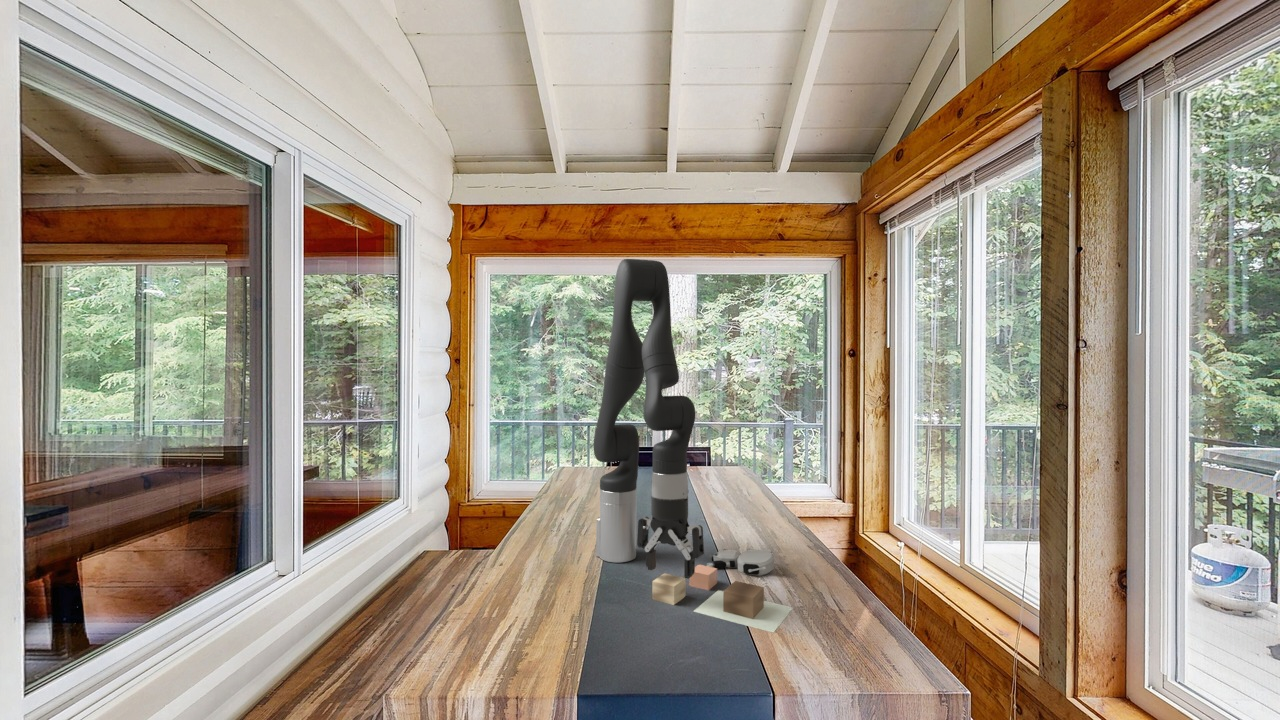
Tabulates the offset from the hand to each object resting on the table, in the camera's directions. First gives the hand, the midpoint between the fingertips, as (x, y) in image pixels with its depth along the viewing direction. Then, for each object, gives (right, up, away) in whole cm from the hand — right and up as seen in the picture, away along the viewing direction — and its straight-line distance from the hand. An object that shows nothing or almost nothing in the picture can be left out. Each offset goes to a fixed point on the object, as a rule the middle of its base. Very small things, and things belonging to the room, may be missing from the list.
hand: (669, 573), depth 118 cm
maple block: (0, -7, +1) cm, 7 cm away
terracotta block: (+8, -7, +7) cm, 12 cm away
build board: (+14, -7, -5) cm, 16 cm away
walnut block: (+14, -5, -5) cm, 16 cm away
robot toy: (+18, -7, +19) cm, 27 cm away
